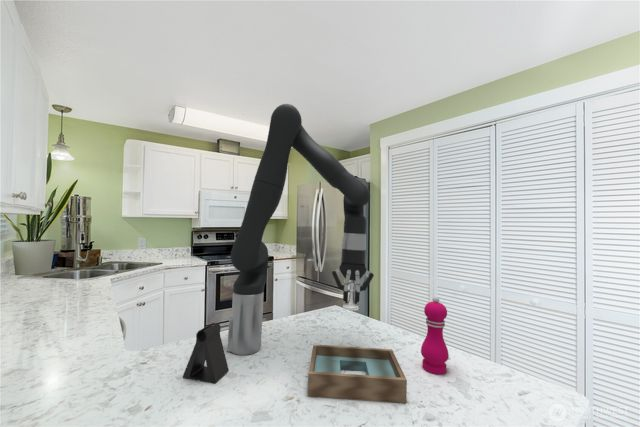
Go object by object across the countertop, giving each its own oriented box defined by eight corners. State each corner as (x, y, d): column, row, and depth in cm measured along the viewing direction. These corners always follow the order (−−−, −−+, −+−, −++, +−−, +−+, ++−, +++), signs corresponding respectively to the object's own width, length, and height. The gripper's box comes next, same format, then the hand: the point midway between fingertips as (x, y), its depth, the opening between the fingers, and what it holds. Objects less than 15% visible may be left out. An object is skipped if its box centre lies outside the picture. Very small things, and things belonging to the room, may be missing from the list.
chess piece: (358, 311, 87) (359, 278, 87) (341, 309, 88) (343, 276, 88) (359, 307, 91) (360, 275, 92) (343, 305, 92) (345, 274, 93)
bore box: (307, 396, 64) (308, 373, 65) (312, 362, 80) (313, 344, 81) (406, 403, 63) (406, 380, 64) (391, 367, 79) (392, 349, 79)
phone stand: (182, 378, 70) (185, 328, 70) (197, 366, 75) (200, 320, 76) (215, 384, 68) (218, 332, 68) (228, 371, 74) (231, 324, 74)
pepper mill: (447, 365, 82) (448, 295, 83) (449, 378, 75) (451, 301, 76) (420, 360, 84) (422, 292, 85) (420, 372, 77) (422, 297, 78)
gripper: (331, 247, 87) (328, 304, 86) (377, 250, 86) (375, 308, 86) (331, 245, 94) (328, 298, 94) (374, 248, 94) (371, 301, 93)
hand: (351, 302), depth 90 cm, fingers closed on chess piece, 2 cm apart
